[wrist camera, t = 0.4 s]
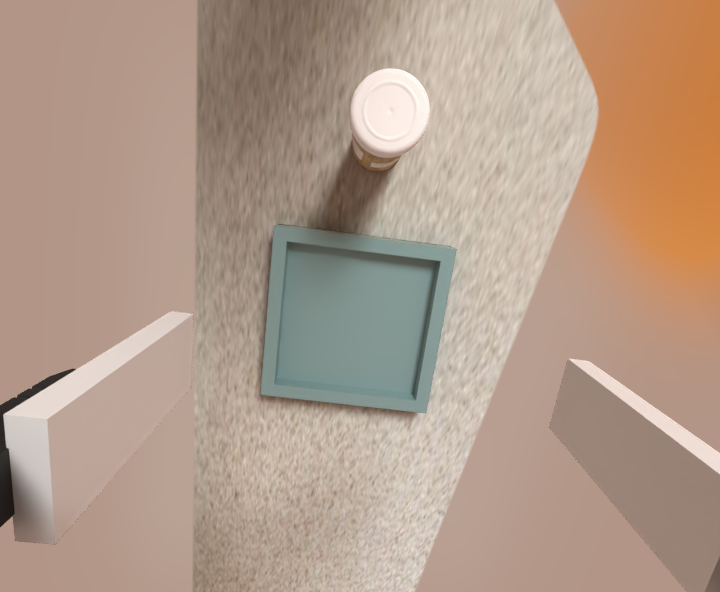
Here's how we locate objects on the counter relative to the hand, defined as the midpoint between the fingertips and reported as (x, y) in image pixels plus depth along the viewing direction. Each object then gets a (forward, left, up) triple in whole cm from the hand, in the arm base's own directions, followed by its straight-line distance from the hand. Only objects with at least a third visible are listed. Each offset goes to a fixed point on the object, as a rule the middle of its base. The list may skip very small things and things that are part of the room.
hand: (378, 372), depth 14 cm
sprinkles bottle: (-11, 0, -25) cm, 27 cm away
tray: (+5, 0, -24) cm, 25 cm away
